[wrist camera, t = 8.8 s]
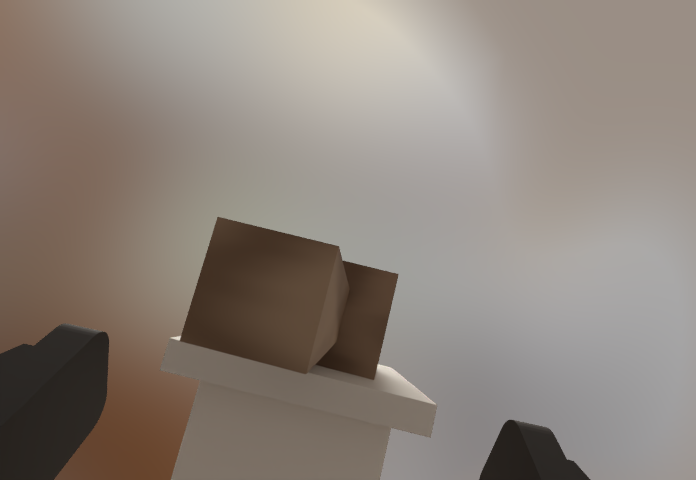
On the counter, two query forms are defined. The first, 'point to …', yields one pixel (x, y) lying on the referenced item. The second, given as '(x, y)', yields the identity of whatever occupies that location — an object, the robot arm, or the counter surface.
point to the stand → (289, 419)
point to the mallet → (288, 302)
